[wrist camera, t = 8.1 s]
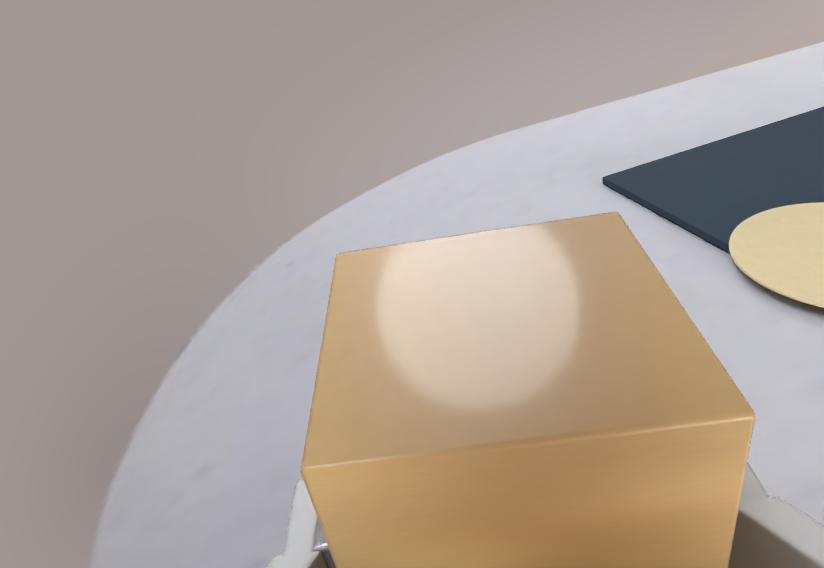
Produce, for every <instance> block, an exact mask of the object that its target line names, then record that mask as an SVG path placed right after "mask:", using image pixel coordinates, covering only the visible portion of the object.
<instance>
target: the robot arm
mask: <svg viewBox="0 0 824 568" xmlns="http://www.w3.org/2000/svg"><path fill="white" fill-rule="evenodd" d="M266 568H336V566H335V563H334V561H333V558H332V555H331V553H330V550H329V547H328V545H327V542H326V539H325V536H324V534H323V531H322V528H321V526H320V523H319V520H318V518H317V515H316V512H315V509H314V507H313V504H312V501H311V499H310V496H309V493H308V491H307V488H306V485H305V482H304V480H303V479H299V480H298V482H297V484H296V486H295V489H294V495H293V501H292V507H291V513H290V518H289V524H288V530H287V536H286V542H285V548H284V554H283V555H279V556H275V558H274V559H273V560H272V561H271V562H270V564H269V565H268V566H267V567H266ZM728 568H824V525H823V524H821V523H820V522H818V521H816V520H815V519H813V518H811V517H810V516H808V515H807V514H805V513H803V512H802V511H800V510H799V509H797V508H795V507H794V506H792V505H791V504H789V503H787V502H786V501H784V500H782V499H781V498H779V497H772V498H770V497H769V496H768V494H767V492H766V491H765V489H764V488H763V486H762V484H761V483H760V481H759V480H758V478H757V476H756V475H755V473H754V472H753V470H752V468H751V467H750V465H749V463H748V462H747V465H746V471H745V476H744V482H743V487H742V493H741V498H740V504H739V509H738V514H737V520H736V525H735V531H734V536H733V542H732V547H731V553H730V558H729V564H728Z"/></svg>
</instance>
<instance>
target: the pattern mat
mask: <svg viewBox="0 0 824 568" xmlns="http://www.w3.org/2000/svg"><path fill="white" fill-rule="evenodd" d="M603 184H605V185H606V186H608V187H610V188H612V189H614V190H615V191H617V192H619V193H621V194H623V195H625V196H626V197H628V198H630V199H632V200H634V201H635V202H637V203H639V204H641V205H643V206H645V207H646V208H648V209H650V210H652V211H654V212H655V213H657V214H659V215H661V216H663V217H665V218H666V219H668V220H670V221H672V222H674V223H675V224H677V225H679V226H681V227H683V228H685V229H686V230H688V231H690V232H692V233H694V234H695V235H697V236H699V237H701V238H703V239H705V240H706V241H708V242H710V243H712V244H714V245H715V246H717V247H719V248H721V249H723V250H725V251H726V252H728V253H730V254H731V257H732V259H733V261H734V262H735V264H736V265H737V266H738V267H739V268H740V269H741V271H742V272H744V273H745V274H746V275H747V276H748V277H750V278H751V279H753V280H754V281H756V282H757V283H759V284H760V285H762V286H764V287H766V288H768V289H770V290H772V291H774V292H776V293H778V294H781V295H783V296H786V297H788V298H791V299H794V300H797V301H800V302H803V303H807V304H811V305H814V306H818V307H822V308H824V107H821V108H818V109H815V110H812V111H809V112H806V113H802V114H799V115H796V116H793V117H790V118H787V119H784V120H781V121H777V122H774V123H771V124H768V125H765V126H762V127H759V128H755V129H752V130H749V131H746V132H743V133H740V134H737V135H733V136H730V137H727V138H724V139H721V140H718V141H715V142H712V143H708V144H705V145H702V146H699V147H696V148H693V149H690V150H686V151H683V152H680V153H677V154H674V155H671V156H668V157H664V158H661V159H658V160H655V161H652V162H649V163H646V164H643V165H639V166H636V167H633V168H630V169H627V170H624V171H621V172H617V173H614V174H611V175H608V176H605V177H603Z"/></svg>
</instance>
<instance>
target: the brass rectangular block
mask: <svg viewBox="0 0 824 568" xmlns="http://www.w3.org/2000/svg"><path fill="white" fill-rule="evenodd" d="M754 422H755V414H754V411H753V410H752V408H751V407H750V405H749V404H748V402H747V401H746V399H745V398H744V396H743V395H742V393H741V392H740V391H739V389H738V388H737V386H736V385H735V383H734V382H733V380H732V379H731V377H730V376H729V374H728V373H727V371H726V370H725V368H724V367H723V366H722V364H721V363H720V361H719V360H718V358H717V357H716V355H715V354H714V352H713V351H712V349H711V348H710V346H709V345H708V344H707V342H706V341H705V339H704V338H703V336H702V335H701V333H700V332H699V330H698V329H697V327H696V326H695V324H694V323H693V321H692V320H691V319H690V317H689V316H688V314H687V313H686V311H685V310H684V308H683V307H682V305H681V304H680V302H679V301H678V299H677V298H676V297H675V295H674V294H673V292H672V291H671V289H670V288H669V286H668V285H667V283H666V282H665V280H664V279H663V277H662V276H661V274H660V273H659V272H658V270H657V269H656V267H655V266H654V264H653V263H652V261H651V260H650V258H649V257H648V255H647V254H646V252H645V251H644V250H643V248H642V247H641V245H640V244H639V242H638V241H637V239H636V238H635V236H634V235H633V233H632V232H631V230H630V229H629V227H628V226H627V225H626V223H625V222H624V220H623V219H622V217H621V216H620V214H619V213H618V212H610V213H603V214H596V215H589V216H583V217H576V218H569V219H563V220H556V221H549V222H543V223H536V224H529V225H523V226H516V227H509V228H503V229H496V230H489V231H483V232H476V233H469V234H462V235H456V236H449V237H442V238H436V239H429V240H422V241H416V242H409V243H402V244H396V245H389V246H382V247H376V248H369V249H362V250H355V251H349V252H342V253H339V254H337V255H336V259H335V265H334V271H333V277H332V283H331V290H330V296H329V302H328V308H327V314H326V320H325V326H324V332H323V338H322V344H321V350H320V356H319V363H318V369H317V375H316V381H315V387H314V393H313V399H312V405H311V411H310V417H309V423H308V429H307V435H306V442H305V448H304V454H303V460H302V466H301V474H302V477H303V480H304V482H305V485H306V488H307V491H308V493H309V496H310V499H311V501H312V504H313V507H314V509H315V512H316V515H317V518H318V520H319V523H320V526H321V528H322V531H323V534H324V536H325V539H326V542H327V545H328V547H329V550H330V553H331V555H332V558H333V561H334V563H335V566H336V568H728V564H729V558H730V553H731V547H732V542H733V536H734V531H735V525H736V520H737V514H738V509H739V504H740V498H741V493H742V487H743V482H744V476H745V471H746V465H747V460H748V454H749V449H750V443H751V438H752V433H753V427H754Z"/></svg>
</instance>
